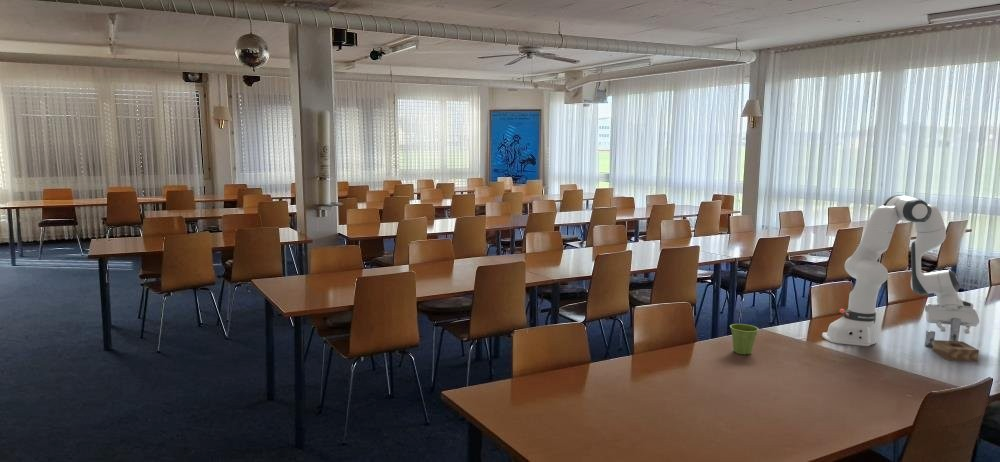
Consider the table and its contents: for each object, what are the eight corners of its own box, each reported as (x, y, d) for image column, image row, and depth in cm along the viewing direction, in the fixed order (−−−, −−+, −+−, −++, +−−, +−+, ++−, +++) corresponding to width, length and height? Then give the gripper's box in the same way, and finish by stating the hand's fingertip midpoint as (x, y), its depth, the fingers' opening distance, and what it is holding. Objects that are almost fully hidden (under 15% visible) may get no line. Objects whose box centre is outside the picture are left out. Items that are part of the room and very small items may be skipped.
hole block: (947, 359, 281) (948, 348, 280) (932, 350, 293) (933, 340, 292) (977, 361, 280) (979, 350, 279) (961, 352, 291) (962, 341, 291)
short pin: (926, 347, 298) (928, 332, 297) (923, 344, 301) (924, 330, 300) (935, 347, 298) (936, 332, 297) (931, 345, 301) (932, 330, 300)
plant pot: (759, 357, 280) (761, 332, 278) (730, 355, 282) (731, 330, 280) (754, 349, 291) (756, 324, 290) (726, 347, 294) (728, 322, 292)
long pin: (950, 349, 295) (954, 319, 293) (946, 347, 298) (949, 317, 296) (958, 350, 295) (962, 319, 293) (954, 347, 298) (958, 317, 296)
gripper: (926, 300, 303) (931, 326, 295) (977, 304, 298) (983, 330, 290) (921, 307, 308) (926, 333, 300) (971, 311, 302) (978, 337, 295)
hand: (955, 332), depth 295 cm, fingers open, 8 cm apart
